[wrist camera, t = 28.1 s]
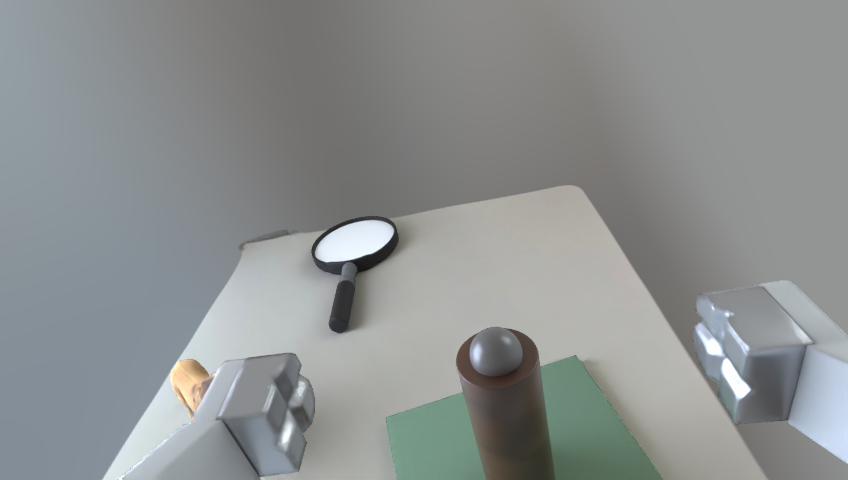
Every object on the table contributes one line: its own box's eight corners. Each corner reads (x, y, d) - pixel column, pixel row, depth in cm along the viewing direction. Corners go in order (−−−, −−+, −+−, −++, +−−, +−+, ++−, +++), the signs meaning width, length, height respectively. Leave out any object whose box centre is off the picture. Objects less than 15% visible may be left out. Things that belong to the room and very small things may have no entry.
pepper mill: (538, 437, 38) (516, 297, 31) (567, 496, 34) (550, 349, 27) (477, 458, 38) (441, 321, 31) (499, 520, 34) (463, 377, 27)
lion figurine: (296, 426, 46) (259, 357, 41) (254, 475, 42) (208, 406, 38) (202, 383, 54) (162, 322, 49) (160, 422, 50) (112, 359, 45)
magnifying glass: (288, 342, 56) (282, 328, 55) (323, 235, 77) (318, 223, 76) (394, 323, 55) (389, 308, 54) (400, 219, 76) (397, 207, 74)
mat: (576, 361, 45) (575, 354, 45) (717, 565, 30) (718, 558, 29) (387, 423, 44) (385, 417, 43) (432, 670, 28) (429, 664, 28)
